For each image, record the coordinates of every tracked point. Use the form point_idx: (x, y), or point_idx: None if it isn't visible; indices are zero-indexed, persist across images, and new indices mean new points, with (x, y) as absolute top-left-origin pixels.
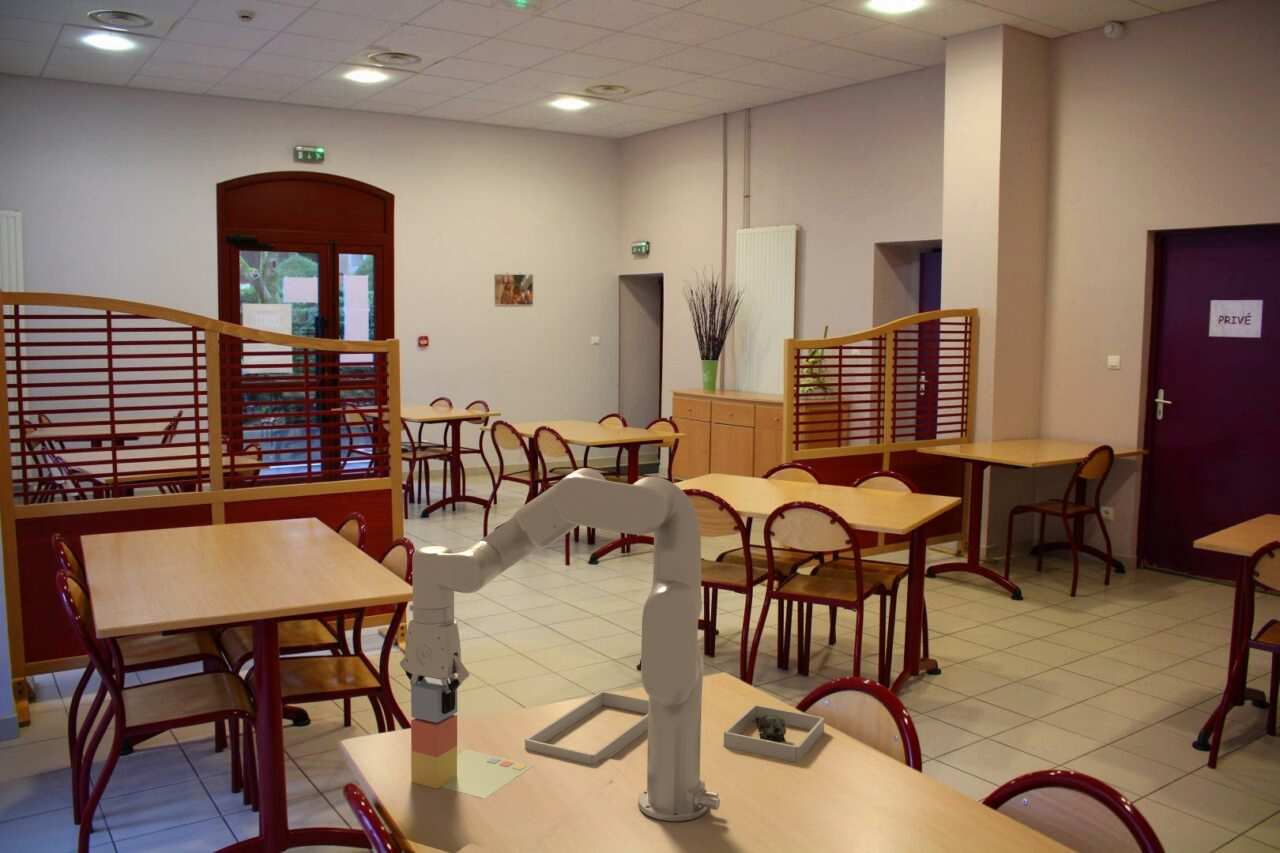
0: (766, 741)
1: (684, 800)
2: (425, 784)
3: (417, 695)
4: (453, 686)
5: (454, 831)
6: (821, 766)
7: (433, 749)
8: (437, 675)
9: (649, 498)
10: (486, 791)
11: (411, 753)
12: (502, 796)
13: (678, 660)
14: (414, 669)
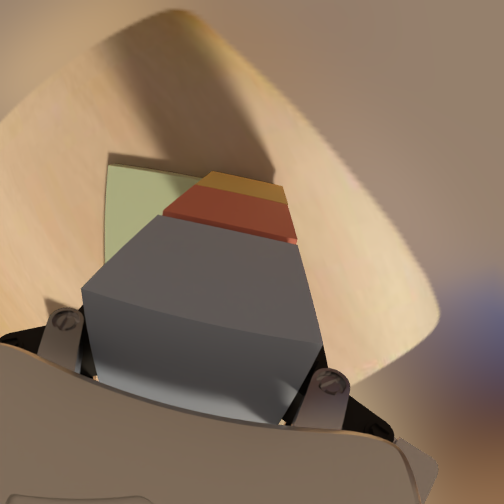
0: None
1: None
2: (242, 177)
3: (261, 294)
4: (29, 335)
5: (122, 60)
6: None
7: (202, 191)
8: (15, 369)
9: None
10: (118, 193)
11: (286, 201)
12: (104, 204)
13: None
14: (301, 466)
